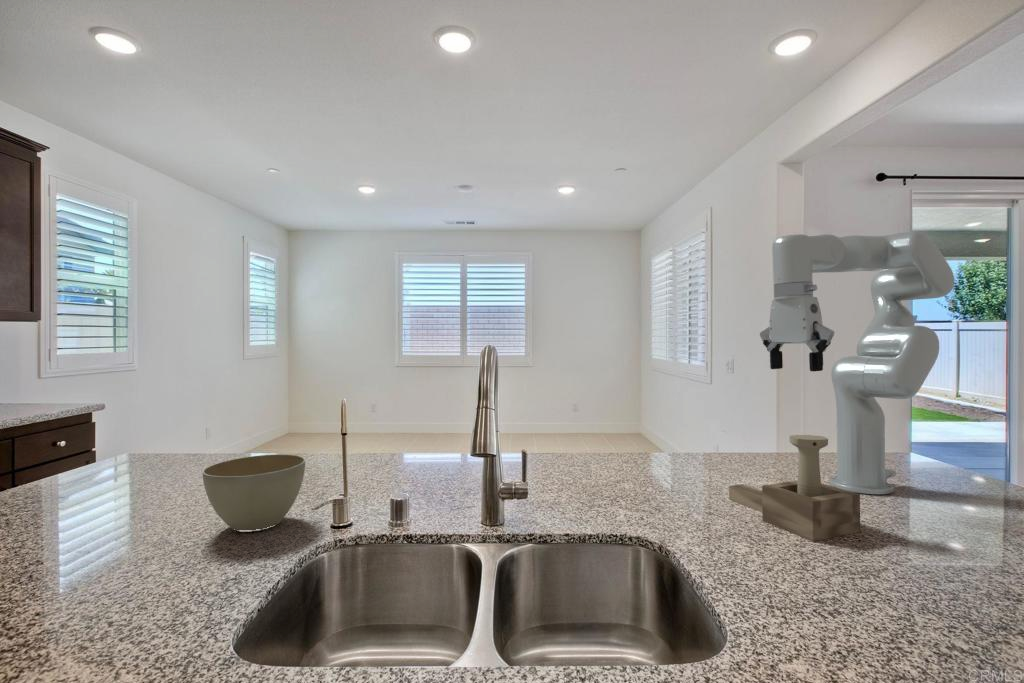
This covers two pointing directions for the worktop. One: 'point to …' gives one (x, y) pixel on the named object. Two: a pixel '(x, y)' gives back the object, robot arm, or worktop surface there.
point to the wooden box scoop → (803, 509)
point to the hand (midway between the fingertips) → (795, 369)
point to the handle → (809, 463)
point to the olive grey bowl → (254, 489)
